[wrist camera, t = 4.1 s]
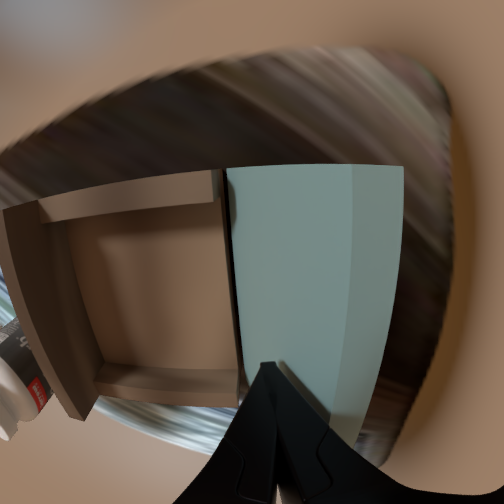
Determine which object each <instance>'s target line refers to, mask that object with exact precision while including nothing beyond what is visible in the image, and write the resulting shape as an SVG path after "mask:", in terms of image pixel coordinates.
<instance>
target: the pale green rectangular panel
mask: <svg viewBox="0 0 504 504" xmlns="http://www.w3.org/2000/svg"><path fill="white" fill-rule="evenodd" d="M227 181H228V194H229V207H230V220H231V232H232V244H233V255H234V267H235V278H236V288H237V299H238V309H239V320H240V330H241V339H242V349H243V358H244V368H245V377H246V381H247V383H248V385H249V387H250V386H251V384H252V382H253V380H254V378H255V376H256V374H257V372H258V370H259V368H260V363H261V362H267V361H275V362H276V364H277V366H278V368H279V369H280V370H281V371H282V372H283V373H284V375H285V376H286V377H287V378H288V379H289V381H290V382H291V383H292V384H293V385H294V386H295V388H296V389H297V390H298V391H299V392H300V393H301V394H302V396H303V397H304V398H305V399H306V400H307V401H308V402H309V404H310V405H311V406H312V407H313V408H314V409H315V410H316V411H317V413H318V414H319V415H320V416H321V417H322V418H323V419H324V420H325V421H326V422H327V424H328V425H329V426H330V428H332V429H333V430H334V431H335V432H336V433H337V434H338V435H339V436H340V437H341V438H342V439H343V440H344V441H345V442H346V443H347V444H348V445H349V446H350V447H351V448H352V449H353V448H354V445H355V443H356V440H357V437H358V435H359V432H360V429H361V427H362V424H363V421H364V418H365V415H366V412H367V409H368V406H369V403H370V400H371V397H372V393H373V390H374V387H375V383H376V380H377V376H378V373H379V369H380V365H381V361H382V357H383V353H384V349H385V344H386V340H387V335H388V330H389V325H390V320H391V315H392V309H393V303H394V297H395V291H396V284H397V276H398V268H399V259H400V249H401V238H402V222H403V196H404V168H403V167H402V166H385V165H360V164H301V165H273V166H255V167H240V168H228V169H227Z"/></svg>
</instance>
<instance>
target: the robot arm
mask: <svg viewBox="0 0 504 504" xmlns="http://www.w3.org/2000/svg"><path fill="white" fill-rule="evenodd" d="M277 484H278V488H279V492H280V496H281V500H282V504H504V485H503V486H502V487H501V488H499V489H497V490H496V491H493V492H491V493H487V494H483V495H458V494H446V493H436V492H428V491H422V490H416V489H412V488H409V487H406V486H404V485H402V484H400V483H398V482H396V481H395V480H393V479H392V478H391V477H389V476H388V475H386V474H385V473H383V472H382V471H380V470H379V469H378V468H377V467H375V466H374V465H372V464H371V463H370V462H368V461H367V460H366V459H364V458H363V457H362V456H361V455H359V454H358V453H357V452H356V451H355V450H353V449H352V448H351V447H350V446H349V445H348V444H347V443H346V442H345V441H344V440H343V439H342V438H341V437H340V436H339V435H338V434H337V433H336V432H335V431H334V430H333V429H332V428H330V426H329V425H328V424H327V422H326V421H325V420H324V419H323V418H322V417H321V416H320V415H319V414H318V413H317V411H316V410H315V409H314V408H313V407H312V406H311V405H310V404H309V402H308V401H307V400H306V399H305V398H304V397H303V396H302V394H301V393H300V392H299V391H298V390H297V389H296V388H295V386H294V385H293V384H292V383H291V382H290V381H289V379H288V378H287V377H286V376H285V375H284V373H283V372H282V371H281V370H280V369H279V368H278V366H277V364H276V362H275V361H267V362H261V363H260V368H259V370H258V372H257V374H256V376H255V378H254V380H253V382H252V384H251V386H250V388H249V390H248V392H247V394H246V396H245V398H244V400H243V402H242V403H241V405H240V407H239V409H238V411H237V413H236V415H235V417H234V418H233V420H232V422H231V424H230V426H229V428H228V429H227V431H226V433H225V435H224V438H222V440H221V442H220V443H219V445H218V447H217V449H216V450H215V452H214V453H213V455H212V457H211V458H210V460H209V461H208V462H207V464H206V465H205V467H204V468H203V469H202V470H201V472H200V473H199V474H198V475H197V476H196V478H195V479H194V480H193V481H192V482H191V483H190V485H189V486H188V487H187V488H186V489H185V490H184V491H183V493H182V494H181V495H180V496H179V497H178V498H177V499H176V500H175V502H173V503H172V504H276V496H277Z"/></svg>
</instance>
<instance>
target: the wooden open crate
mask: <svg viewBox="0 0 504 504" xmlns="http://www.w3.org/2000/svg"><path fill="white" fill-rule="evenodd" d="M0 265H1V269H2V273H3V276H4V280H5V283H6V286H7V289H8V293H9V296H10V299H11V301H12V304H13V307H14V310H15V313H16V315H17V318H18V320H19V323H20V325H21V328H22V330H23V333H24V335H25V337H26V339H27V342H28V344H29V346H30V348H31V350H32V352H33V355H34V357H35V359H36V361H37V363H38V365H39V367H40V368H41V370H42V372H43V374H44V376H45V378H46V380H47V381H48V383H49V385H50V387H51V388H52V390H53V392H54V393H55V395H56V397H57V398H58V400H59V401H60V403H61V405H62V406H63V407H64V409H65V411H66V412H67V414H68V415H69V417H71V418H74V419H78V420H81V421H85V420H86V418H87V416H88V414H89V412H90V411H91V409H92V407H93V405H94V404H95V402H96V400H97V399H98V397H99V395H104V396H110V397H115V398H121V399H127V400H134V401H141V402H149V403H158V404H168V405H180V406H195V407H238V404H239V390H240V376H241V362H240V354H239V345H238V336H237V327H236V317H235V308H234V298H233V288H232V278H231V268H230V257H229V246H228V235H227V223H226V211H225V199H224V186H223V173H222V169H216V170H205V171H195V172H186V173H178V174H170V175H162V176H155V177H148V178H142V179H135V180H129V181H123V182H117V183H112V184H106V185H101V186H96V187H91V188H86V189H81V190H77V191H72V192H68V193H63V194H59V195H55V196H51V197H47V198H43V199H39V200H35V201H31V202H27V203H24V204H20V205H17V206H13V207H10V208H6V209H3V210H0Z"/></svg>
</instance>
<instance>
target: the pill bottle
mask: <svg viewBox="0 0 504 504" xmlns="http://www.w3.org/2000/svg"><path fill="white" fill-rule="evenodd" d="M53 393H54V392H53V390H52V388H51V387H50V385H49V383H48V381H47V380H46V378H45V376H44V374H43V372H42V370H41V368H40V367H39V365H38V363H37V361H36V359H35V357H34V355H33V352H32V350H31V348H30V346H29V344H28V342H27V339H26V337H25V335H24V333H23V330H22V328H21V325H20V323H19V320H18V318H17V317H16V318H14V319H13V320H12V321H11V322H9V323H8V324H7V325H6V326H5V327H3V328H2V329H1V330H0V437H1V438H2V439H4V440H6V441H10V440H11V438H12V437H13V436H14V434H15V433H16V431H17V430H18V429H17V423H18V421H19V420H20V421H25V422H27V421H32V420H34V419H35V418H36V417H37V415H38V414H39V413H40V411H41V410H42V409H43V407H44V406H45V404H46V403H47V402H48V400H49V399H50V398H51V396H52V395H53Z"/></svg>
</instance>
